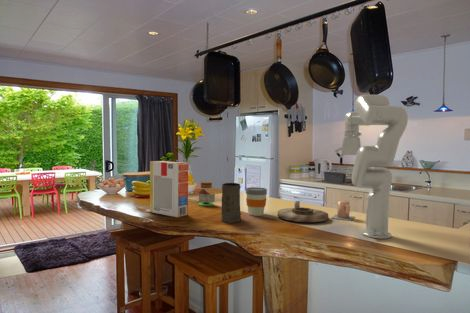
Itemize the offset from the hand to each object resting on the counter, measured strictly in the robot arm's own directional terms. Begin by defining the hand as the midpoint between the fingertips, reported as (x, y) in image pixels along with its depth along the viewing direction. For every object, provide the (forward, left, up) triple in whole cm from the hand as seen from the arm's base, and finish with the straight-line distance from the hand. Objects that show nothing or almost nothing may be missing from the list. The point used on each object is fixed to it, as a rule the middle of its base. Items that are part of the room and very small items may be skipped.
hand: (350, 165), depth 190 cm
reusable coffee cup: (-18, +50, -31) cm, 61 cm away
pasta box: (-44, +94, -31) cm, 108 cm away
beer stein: (-39, +55, -31) cm, 74 cm away
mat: (-1, +3, -30) cm, 30 cm away
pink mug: (-2, +2, -30) cm, 30 cm away
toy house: (-9, +91, -31) cm, 96 cm away
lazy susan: (-14, +23, -30) cm, 41 cm away
